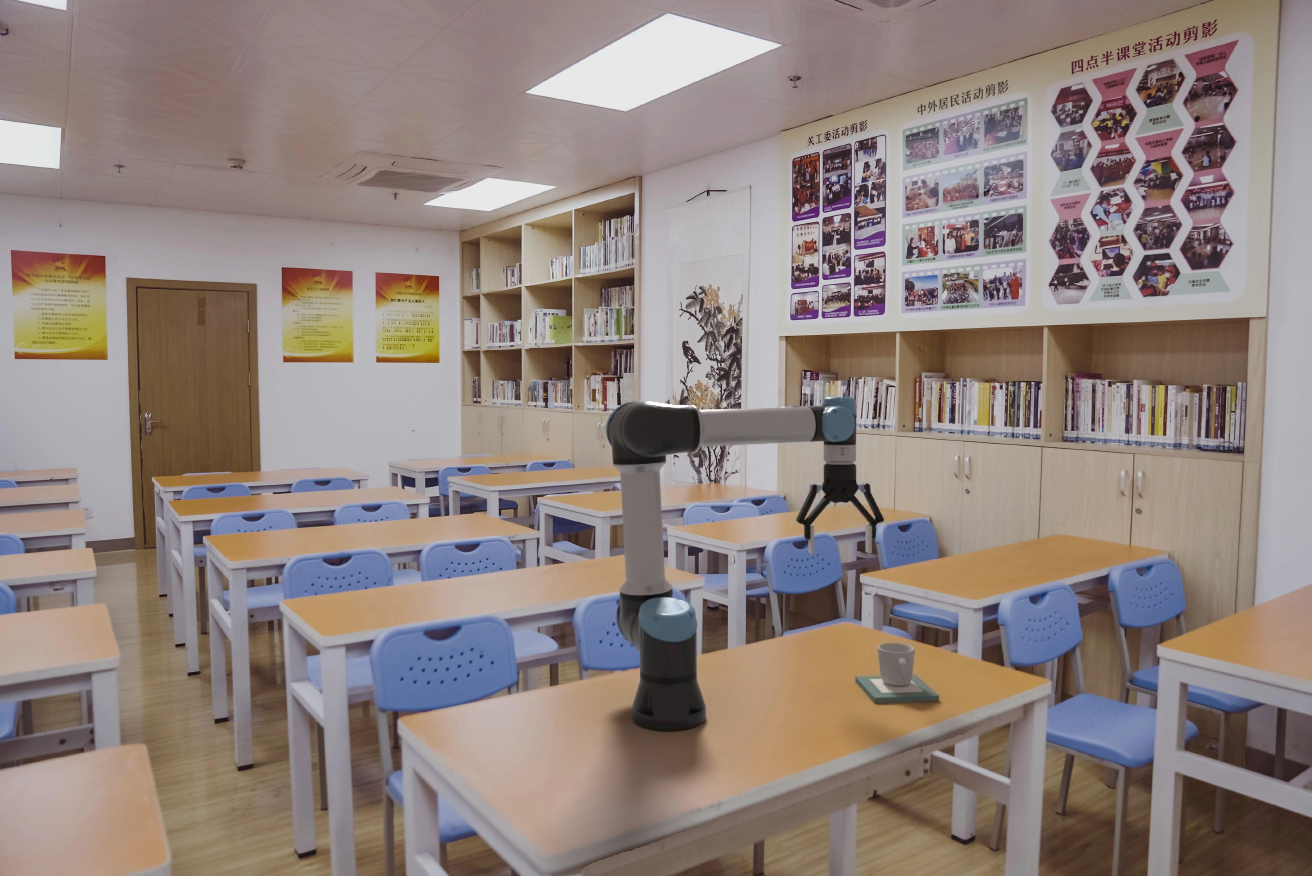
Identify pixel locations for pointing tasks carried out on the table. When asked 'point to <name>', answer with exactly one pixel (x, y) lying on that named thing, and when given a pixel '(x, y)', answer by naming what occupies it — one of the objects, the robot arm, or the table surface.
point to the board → (896, 690)
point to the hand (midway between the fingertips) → (840, 552)
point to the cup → (896, 663)
